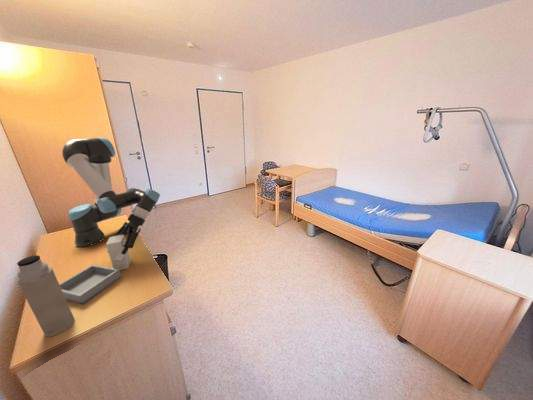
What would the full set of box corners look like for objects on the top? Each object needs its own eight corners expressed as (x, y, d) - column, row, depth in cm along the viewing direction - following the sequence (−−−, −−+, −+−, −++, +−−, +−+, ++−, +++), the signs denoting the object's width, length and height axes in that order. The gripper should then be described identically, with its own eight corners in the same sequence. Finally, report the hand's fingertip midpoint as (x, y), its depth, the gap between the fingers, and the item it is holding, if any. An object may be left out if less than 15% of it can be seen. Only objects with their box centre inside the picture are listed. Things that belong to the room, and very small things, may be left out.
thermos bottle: (37, 336, 72) (0, 267, 63) (60, 317, 80) (29, 252, 71) (60, 336, 72) (26, 266, 63) (80, 316, 79) (52, 251, 71)
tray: (95, 272, 105) (92, 264, 104) (121, 277, 101) (119, 269, 99) (54, 297, 90) (51, 288, 89) (83, 304, 85) (79, 296, 84)
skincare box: (117, 263, 112) (109, 236, 107) (132, 259, 114) (124, 233, 109) (114, 272, 105) (104, 244, 100) (129, 268, 107) (121, 240, 102)
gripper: (155, 223, 108) (130, 265, 101) (135, 215, 121) (112, 251, 115) (142, 218, 102) (115, 261, 95) (122, 209, 116) (97, 247, 109)
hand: (113, 256), depth 105 cm, fingers open, 11 cm apart
